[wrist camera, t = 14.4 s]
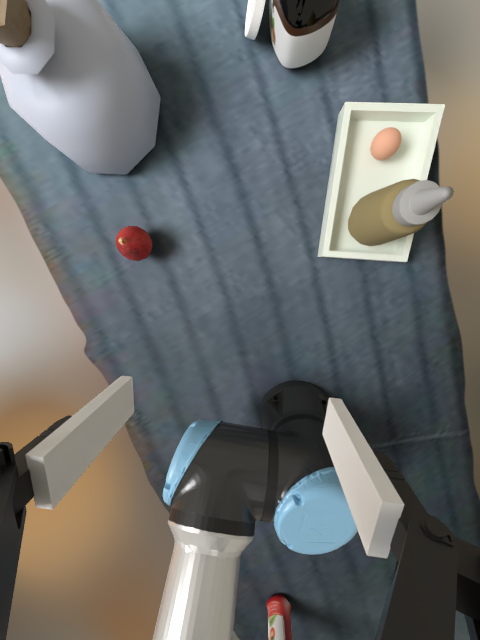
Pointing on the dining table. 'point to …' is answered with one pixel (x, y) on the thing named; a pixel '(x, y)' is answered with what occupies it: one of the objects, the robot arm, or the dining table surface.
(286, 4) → the spread jar
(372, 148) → the egg
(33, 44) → the bottle
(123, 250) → the red fruit
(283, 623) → the liquor
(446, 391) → the dining table surface
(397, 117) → the tray
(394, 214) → the squeeze bottle
